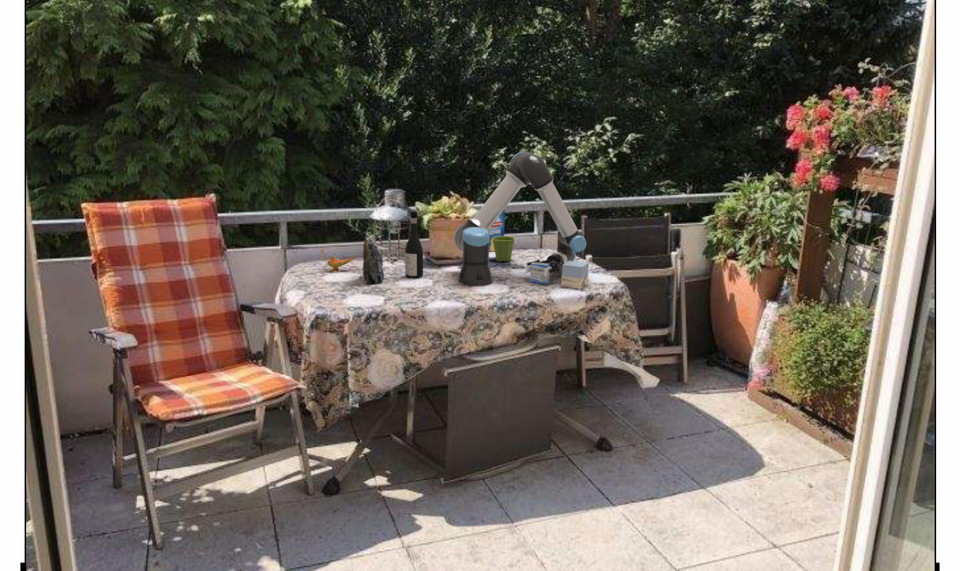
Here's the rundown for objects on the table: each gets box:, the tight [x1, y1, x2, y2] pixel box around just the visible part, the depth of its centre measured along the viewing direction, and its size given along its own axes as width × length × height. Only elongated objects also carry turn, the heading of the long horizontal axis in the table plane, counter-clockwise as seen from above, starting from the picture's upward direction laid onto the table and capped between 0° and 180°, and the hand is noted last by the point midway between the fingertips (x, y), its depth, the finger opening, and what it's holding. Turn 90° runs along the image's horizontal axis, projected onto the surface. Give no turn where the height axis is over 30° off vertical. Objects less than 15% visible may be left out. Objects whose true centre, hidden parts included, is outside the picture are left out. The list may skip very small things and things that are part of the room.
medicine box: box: [529, 261, 551, 285], centre depth 345 cm, size 8×4×9 cm, turn 68°
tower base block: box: [560, 273, 589, 290], centre depth 341 cm, size 9×9×5 cm
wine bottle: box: [404, 210, 424, 279], centre depth 349 cm, size 8×8×30 cm
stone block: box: [362, 234, 385, 285], centre depth 344 cm, size 18×9×20 cm, turn 3°
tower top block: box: [561, 260, 590, 278], centre depth 340 cm, size 9×9×5 cm
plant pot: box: [492, 235, 516, 262], centre depth 385 cm, size 12×12×11 cm
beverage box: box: [489, 208, 506, 253], centre depth 407 cm, size 7×11×22 cm, turn 116°
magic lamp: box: [318, 247, 359, 272], centre depth 360 cm, size 7×18×11 cm, turn 96°
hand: (535, 271), depth 340 cm, fingers closed on medicine box, 8 cm apart
